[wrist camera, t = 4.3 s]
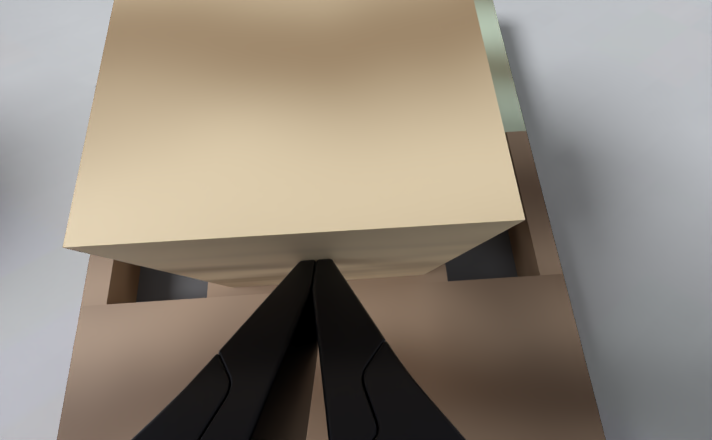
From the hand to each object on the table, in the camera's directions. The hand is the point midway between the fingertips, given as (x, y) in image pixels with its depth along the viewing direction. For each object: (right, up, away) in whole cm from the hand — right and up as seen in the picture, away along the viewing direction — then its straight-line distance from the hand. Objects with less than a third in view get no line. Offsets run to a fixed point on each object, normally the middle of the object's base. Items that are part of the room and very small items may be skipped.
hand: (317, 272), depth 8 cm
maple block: (0, +3, +6) cm, 7 cm away
